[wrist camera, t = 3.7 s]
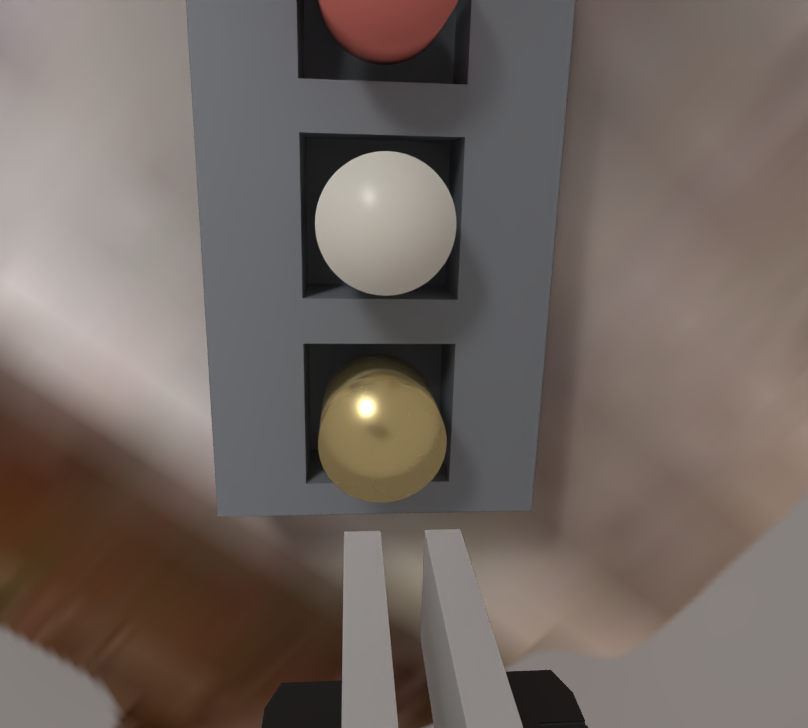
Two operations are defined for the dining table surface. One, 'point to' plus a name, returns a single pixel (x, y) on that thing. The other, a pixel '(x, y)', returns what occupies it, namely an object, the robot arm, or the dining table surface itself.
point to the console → (336, 300)
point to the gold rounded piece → (380, 429)
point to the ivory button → (385, 223)
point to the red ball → (385, 27)
